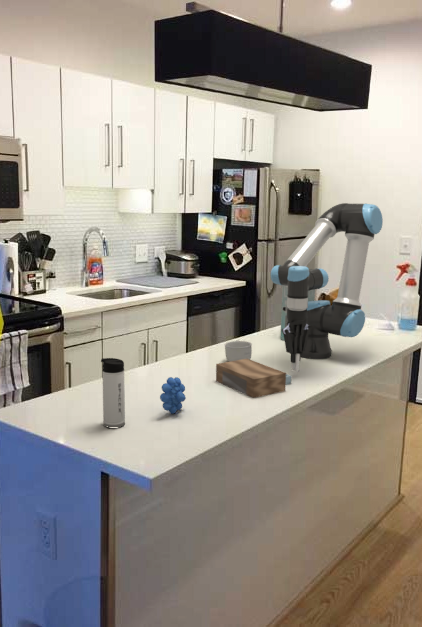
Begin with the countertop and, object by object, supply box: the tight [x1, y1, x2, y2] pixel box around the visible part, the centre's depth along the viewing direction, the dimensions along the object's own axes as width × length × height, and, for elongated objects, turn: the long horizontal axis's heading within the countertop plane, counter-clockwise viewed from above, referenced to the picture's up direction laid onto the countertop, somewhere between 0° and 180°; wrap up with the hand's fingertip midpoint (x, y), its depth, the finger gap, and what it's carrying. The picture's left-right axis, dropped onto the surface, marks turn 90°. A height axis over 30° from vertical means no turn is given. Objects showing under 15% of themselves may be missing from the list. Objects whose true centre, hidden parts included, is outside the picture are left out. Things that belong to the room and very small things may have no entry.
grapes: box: [159, 376, 187, 414], centre depth 191 cm, size 12×7×12 cm, turn 146°
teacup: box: [224, 339, 253, 362], centre depth 252 cm, size 14×11×8 cm
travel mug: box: [100, 357, 126, 428], centre depth 181 cm, size 6×7×20 cm
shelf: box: [215, 359, 287, 399], centre depth 221 cm, size 14×22×6 cm, turn 35°
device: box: [279, 285, 316, 342], centre depth 291 cm, size 16×8×30 cm, turn 140°
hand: (295, 370), depth 233 cm, fingers closed
